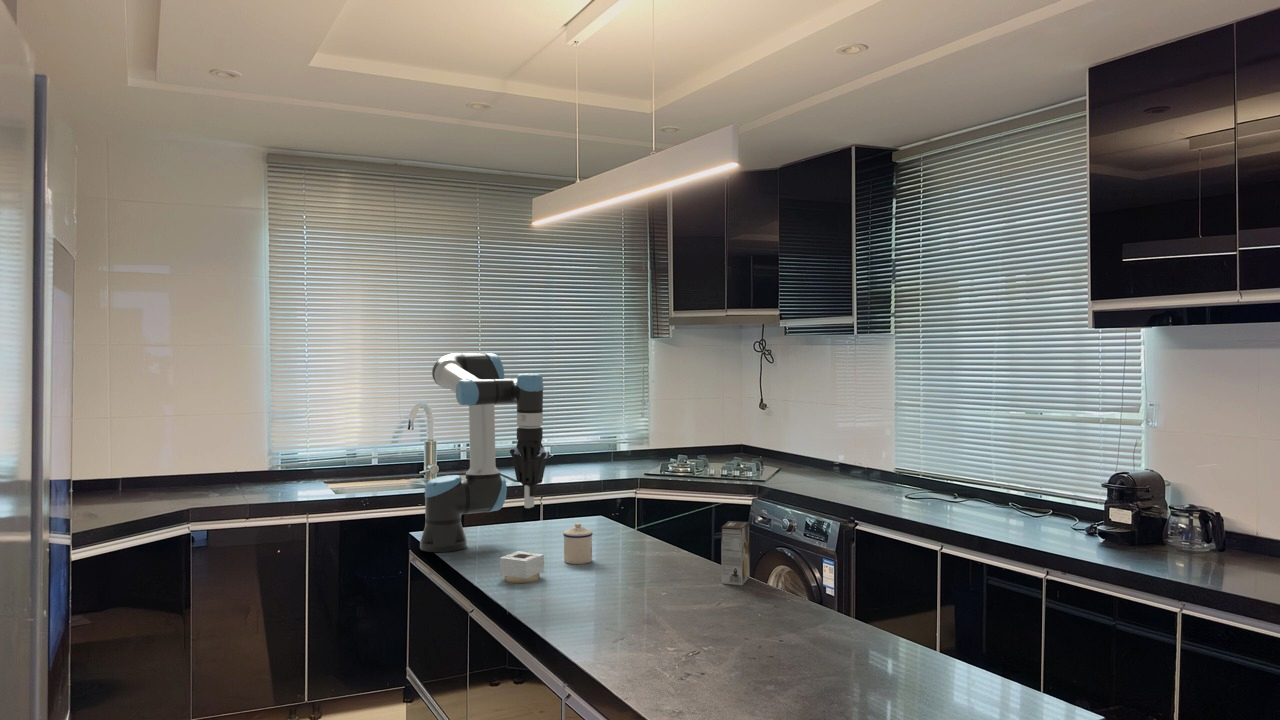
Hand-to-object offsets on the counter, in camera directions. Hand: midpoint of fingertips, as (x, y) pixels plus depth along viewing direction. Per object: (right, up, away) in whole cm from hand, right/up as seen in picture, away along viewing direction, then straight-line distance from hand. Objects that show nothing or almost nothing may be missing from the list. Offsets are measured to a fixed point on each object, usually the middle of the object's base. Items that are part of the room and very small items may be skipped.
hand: (529, 507), depth 248 cm
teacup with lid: (+12, -20, +17) cm, 29 cm away
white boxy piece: (-1, -18, -5) cm, 19 cm away
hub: (-1, -20, -5) cm, 20 cm away
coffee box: (+60, -20, -7) cm, 63 cm away
